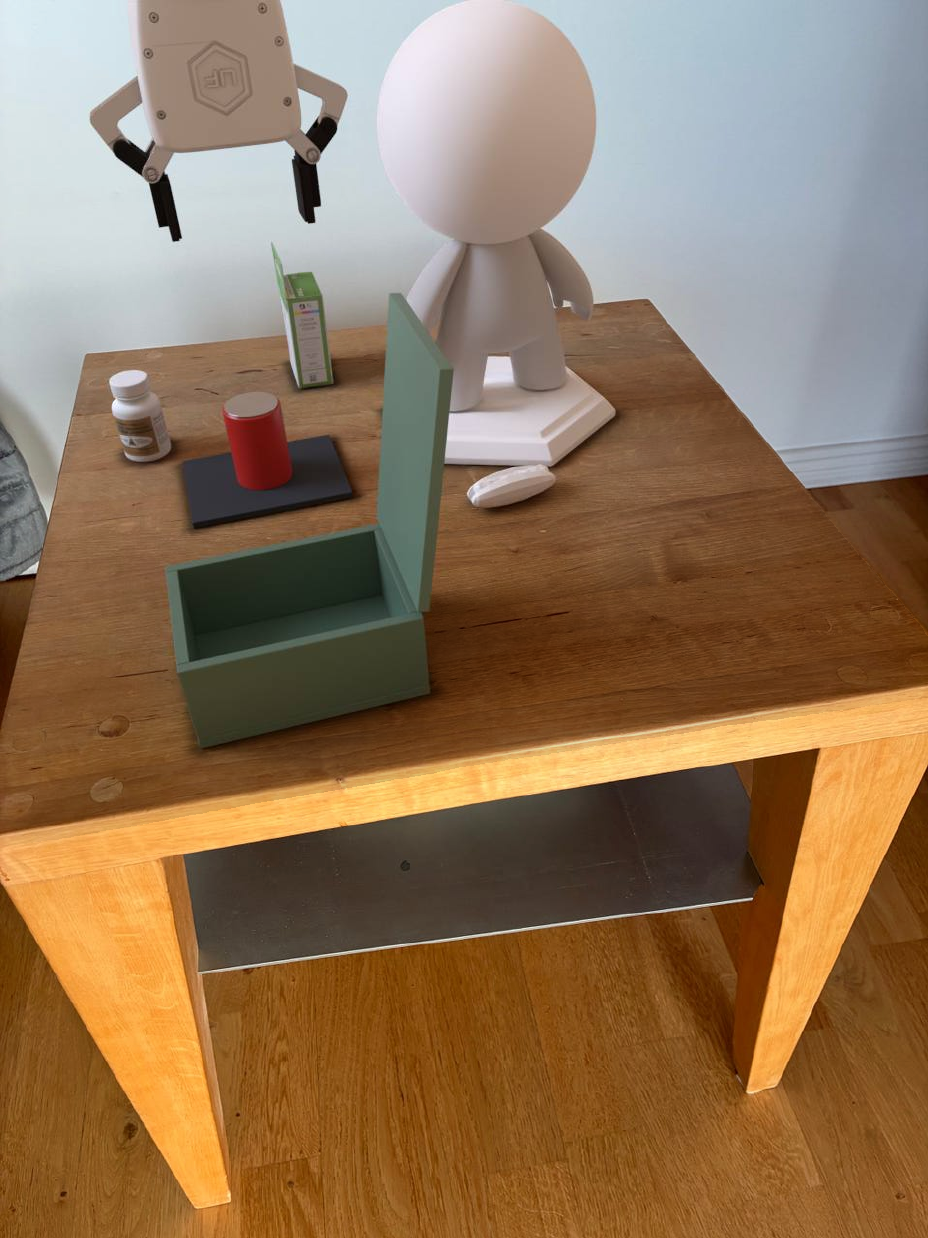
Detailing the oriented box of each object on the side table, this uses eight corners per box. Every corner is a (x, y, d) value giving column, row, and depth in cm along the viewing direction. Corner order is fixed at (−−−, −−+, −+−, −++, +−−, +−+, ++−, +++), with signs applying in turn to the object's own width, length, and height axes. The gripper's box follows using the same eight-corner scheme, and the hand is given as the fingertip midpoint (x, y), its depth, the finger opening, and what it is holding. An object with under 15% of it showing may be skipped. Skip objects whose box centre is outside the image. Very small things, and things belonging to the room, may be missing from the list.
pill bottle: (118, 462, 92) (95, 387, 88) (137, 439, 96) (116, 366, 91) (161, 464, 92) (140, 389, 87) (179, 441, 95) (160, 368, 90)
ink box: (335, 384, 103) (318, 258, 95) (298, 390, 103) (278, 263, 94) (325, 358, 109) (308, 235, 100) (290, 363, 108) (269, 240, 99)
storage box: (200, 749, 63) (177, 673, 59) (186, 639, 72) (164, 565, 68) (430, 693, 67) (424, 617, 62) (390, 595, 75) (382, 522, 71)
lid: (439, 369, 52) (454, 368, 52) (388, 292, 61) (401, 292, 61) (417, 613, 62) (429, 611, 62) (376, 517, 70) (387, 516, 71)
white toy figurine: (536, 350, 108) (540, -25, 86) (646, 441, 92) (685, 7, 69) (367, 388, 102) (323, -3, 80) (451, 493, 86) (425, 38, 64)
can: (241, 494, 86) (225, 421, 81) (234, 467, 90) (218, 396, 85) (296, 484, 87) (284, 411, 82) (287, 457, 91) (275, 386, 86)
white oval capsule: (559, 495, 85) (560, 467, 83) (477, 519, 83) (476, 491, 81) (542, 478, 87) (542, 451, 86) (461, 501, 85) (460, 474, 83)
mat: (193, 528, 83) (192, 522, 83) (183, 466, 91) (182, 460, 91) (353, 497, 86) (352, 491, 86) (329, 439, 94) (329, 434, 94)
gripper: (46, -42, 56) (123, 260, 66) (342, -62, 59) (369, 226, 70) (48, -53, 61) (119, 227, 72) (318, -71, 65) (346, 197, 76)
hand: (242, 226), depth 71 cm, fingers open, 9 cm apart
